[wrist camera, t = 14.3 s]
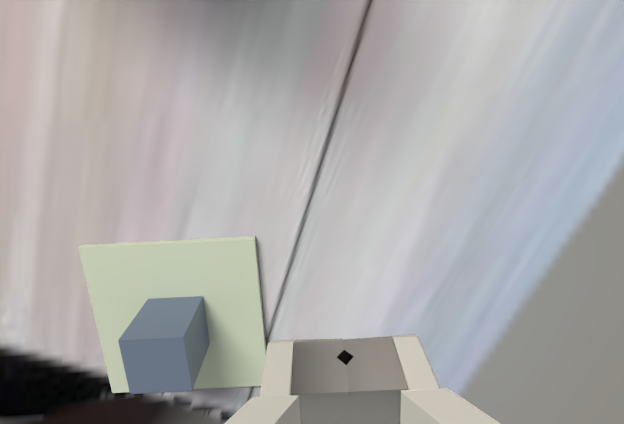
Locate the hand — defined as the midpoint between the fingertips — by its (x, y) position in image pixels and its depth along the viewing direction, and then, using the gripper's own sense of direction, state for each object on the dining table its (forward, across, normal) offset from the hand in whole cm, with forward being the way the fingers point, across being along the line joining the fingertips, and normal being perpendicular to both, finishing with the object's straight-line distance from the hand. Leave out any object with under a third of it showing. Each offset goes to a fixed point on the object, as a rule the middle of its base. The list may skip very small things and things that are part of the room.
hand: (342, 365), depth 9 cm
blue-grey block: (+28, +14, +16) cm, 35 cm away
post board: (+29, +14, +16) cm, 36 cm away
